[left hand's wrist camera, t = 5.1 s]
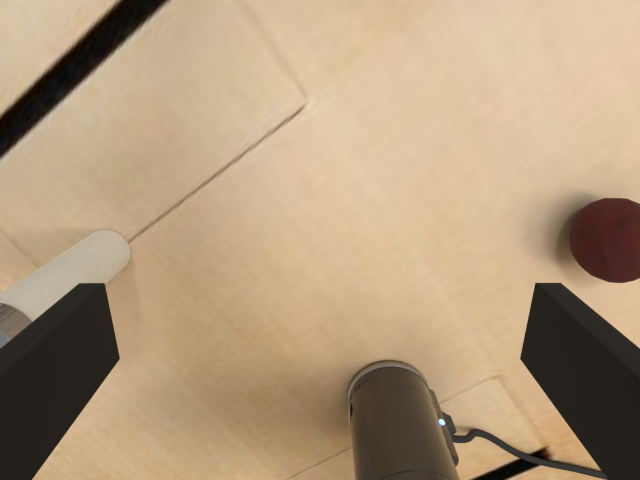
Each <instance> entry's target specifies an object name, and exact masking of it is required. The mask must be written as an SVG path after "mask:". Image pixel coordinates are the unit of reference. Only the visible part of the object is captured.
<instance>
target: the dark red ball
mask: <svg viewBox="0 0 640 480" xmlns="http://www.w3.org/2000/svg"><path fill="white" fill-rule="evenodd" d="M570 246H571V252H572V254H573V256H574V258H575V259H576V261H577V262H578V264H579V265H580V266H581V267H582V268H583V269H584V270H585V271H587V272H588V273H589V274H590V275H592V276H594V277H597V278H599V279H602V280H605V281H607V282H614V283H625V282H629V281H634V280H636V279H639V278H640V204H639V203H636V202H634V201H631V200H628V199H622V198H604V199H601V200H598V201H596V202H593V203H590V204H589V205H587V206H586V207H585V208H584V209H583V210H581V211H580V213H579V214H578V216H577V217H576V219H575V220H574V224H573V227H572V231H571V235H570Z"/></svg>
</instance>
